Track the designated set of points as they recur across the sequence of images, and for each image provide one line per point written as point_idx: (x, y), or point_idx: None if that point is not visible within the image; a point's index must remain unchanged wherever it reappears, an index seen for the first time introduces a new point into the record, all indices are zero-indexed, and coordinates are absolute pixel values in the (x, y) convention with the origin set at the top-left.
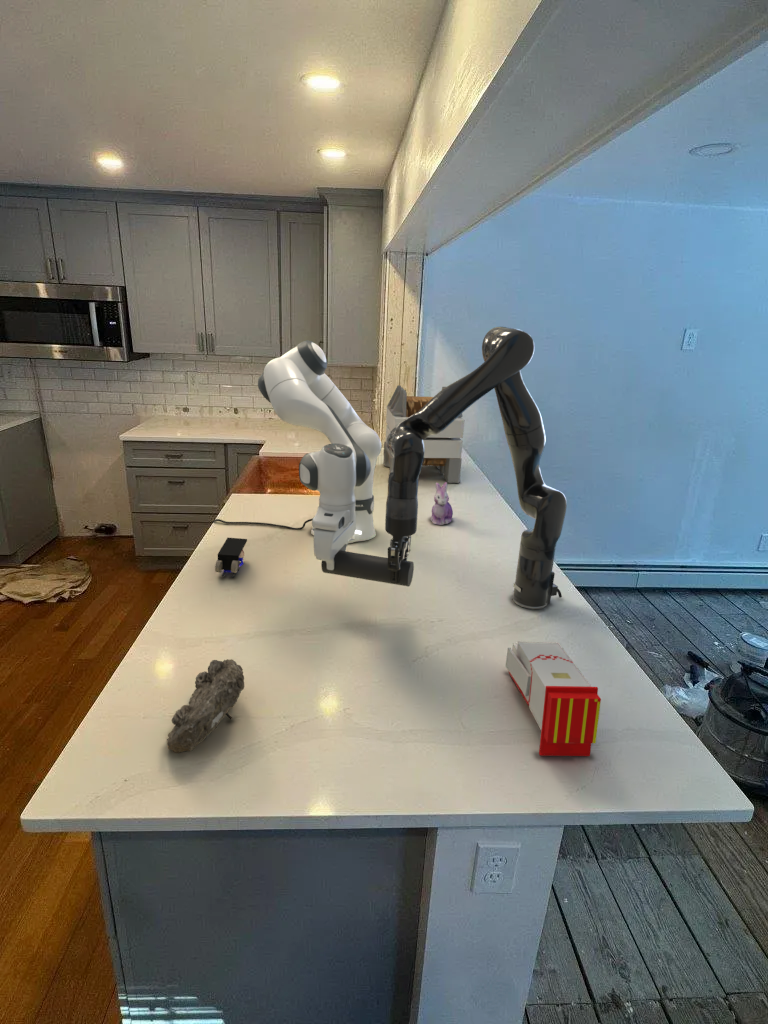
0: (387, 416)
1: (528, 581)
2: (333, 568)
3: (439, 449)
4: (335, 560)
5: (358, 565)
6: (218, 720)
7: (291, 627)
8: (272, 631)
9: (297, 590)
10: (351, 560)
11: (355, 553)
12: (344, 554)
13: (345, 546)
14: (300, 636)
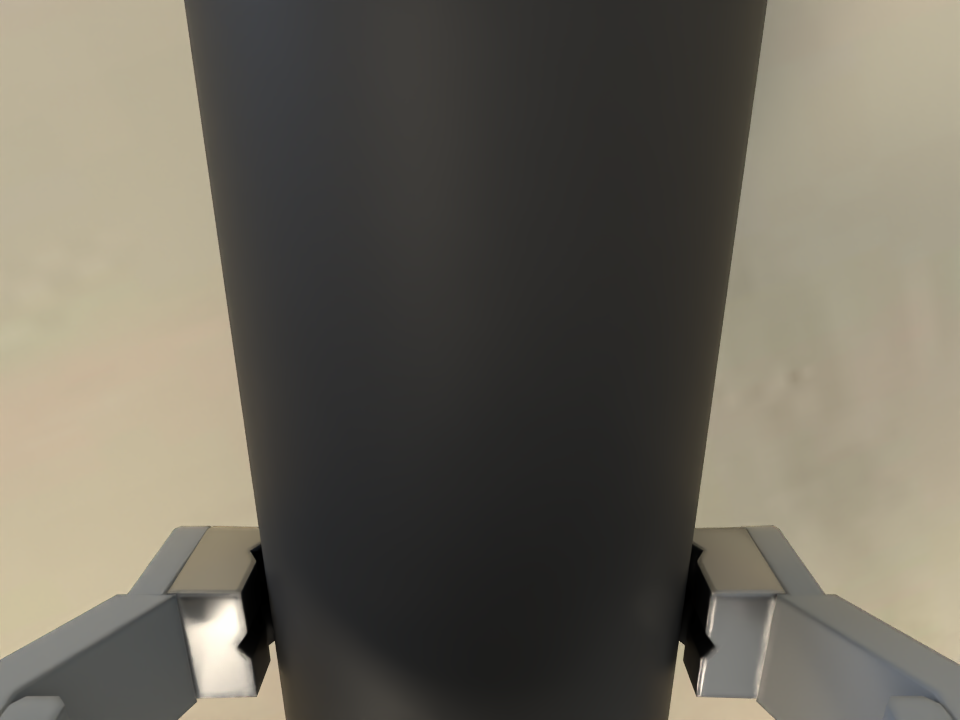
0: None
1: None
2: (784, 536)
3: None
4: (678, 611)
5: (748, 105)
6: None
7: (769, 490)
8: (835, 565)
9: None
10: (695, 322)
11: (430, 336)
12: (562, 559)
13: (86, 663)
14: (866, 402)
